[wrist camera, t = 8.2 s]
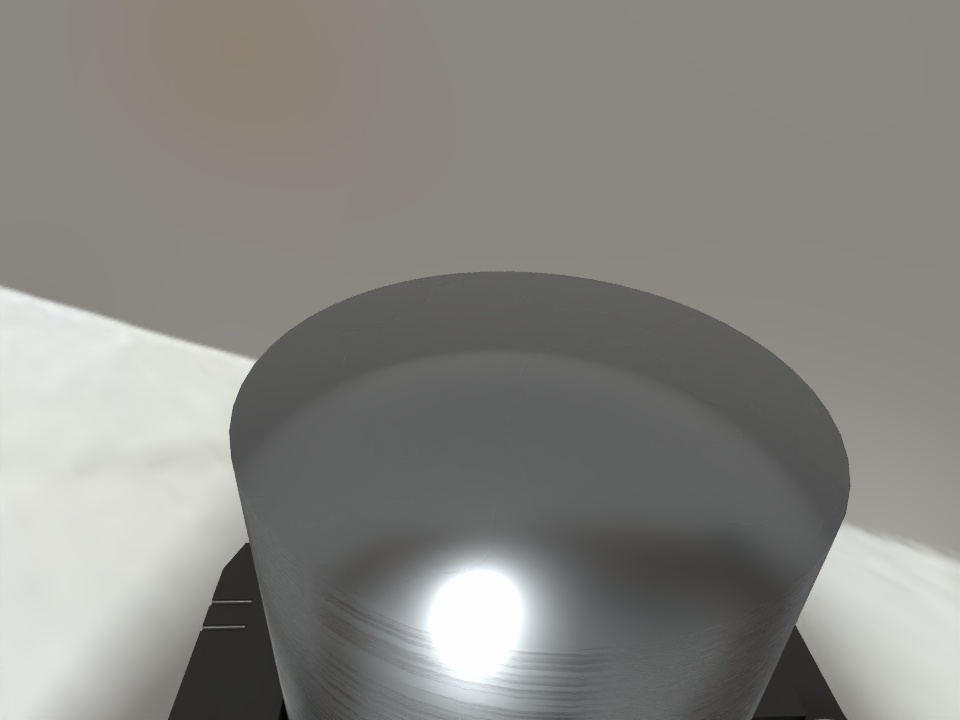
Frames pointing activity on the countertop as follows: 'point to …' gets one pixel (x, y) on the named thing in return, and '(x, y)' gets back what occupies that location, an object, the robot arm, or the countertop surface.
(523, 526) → the tin can
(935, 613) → the countertop surface
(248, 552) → the robot arm
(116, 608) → the countertop surface
